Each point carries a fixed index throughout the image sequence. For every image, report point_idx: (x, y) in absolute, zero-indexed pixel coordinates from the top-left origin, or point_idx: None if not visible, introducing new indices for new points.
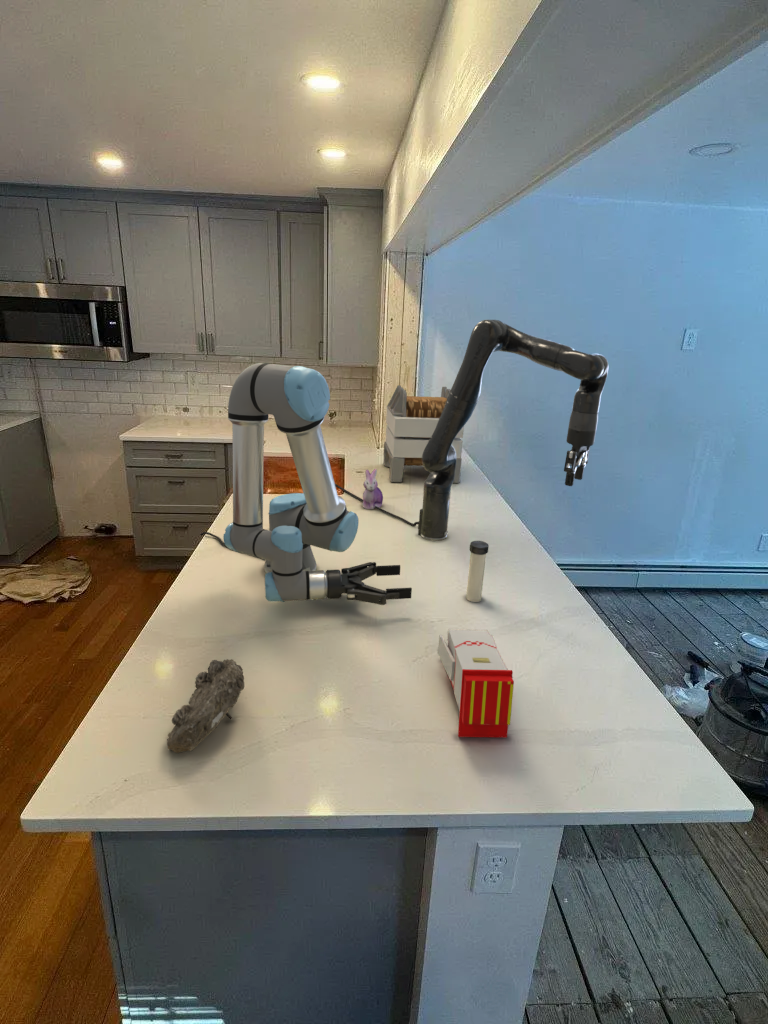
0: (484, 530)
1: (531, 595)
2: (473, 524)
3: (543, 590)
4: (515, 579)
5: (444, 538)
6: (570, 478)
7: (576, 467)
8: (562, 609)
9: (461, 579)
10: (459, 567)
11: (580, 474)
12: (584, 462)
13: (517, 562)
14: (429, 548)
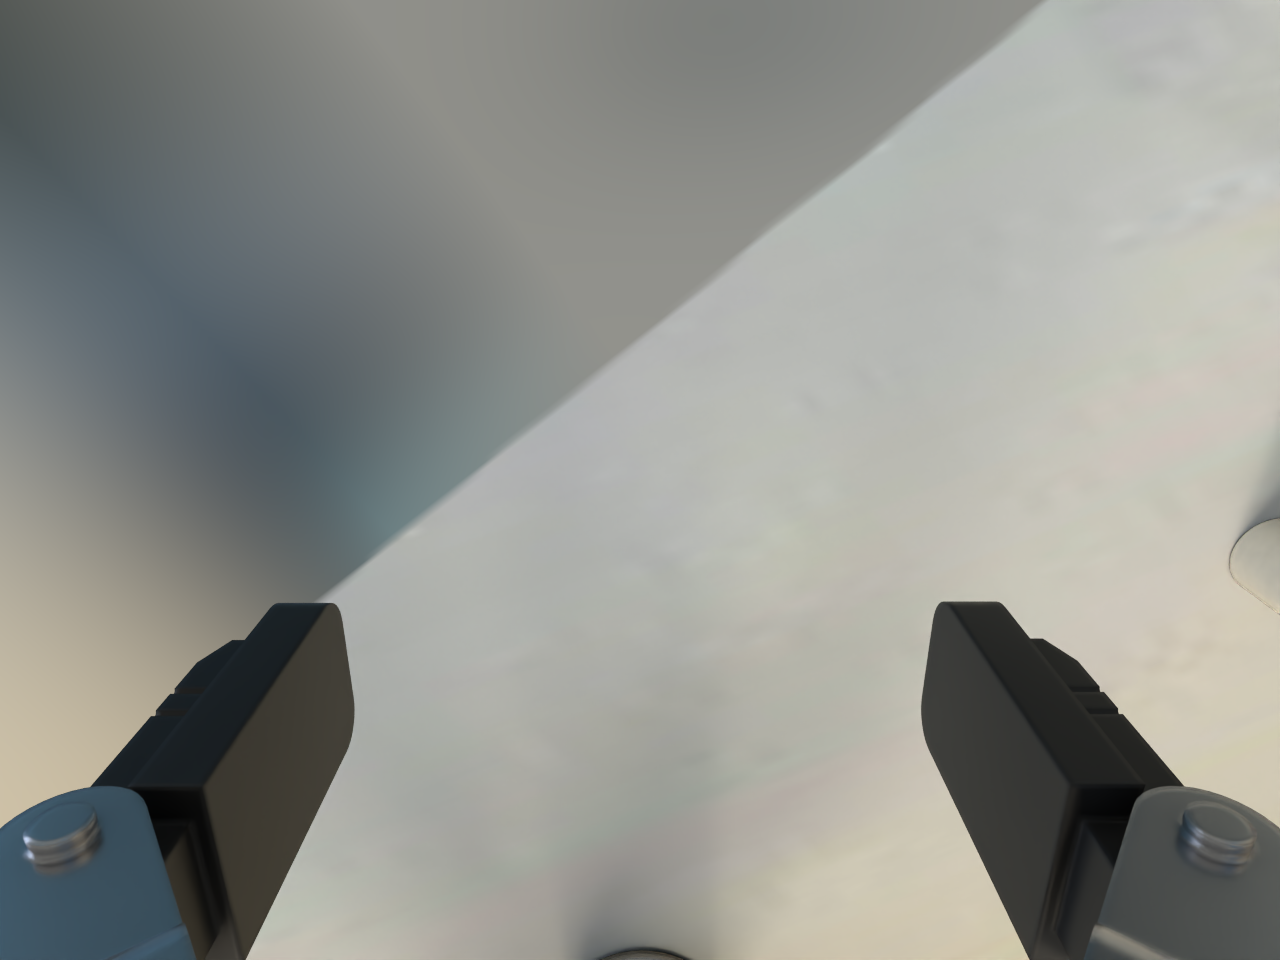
0: (350, 866)
1: (1070, 321)
2: (317, 938)
3: (960, 286)
4: (907, 476)
5: (650, 955)
6: (1136, 749)
7: (1168, 949)
8: (1165, 89)
9: None
10: None
11: (296, 701)
12: (193, 957)
13: (662, 557)
14: (803, 949)
